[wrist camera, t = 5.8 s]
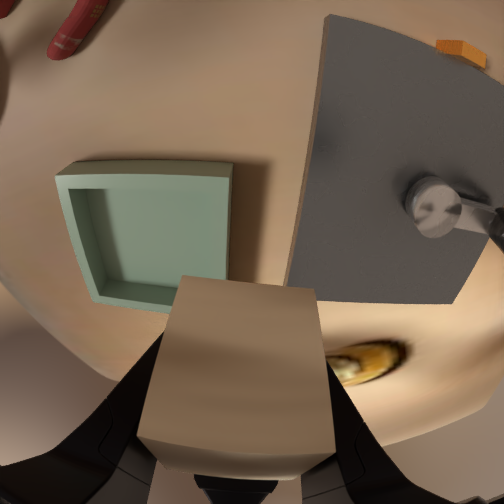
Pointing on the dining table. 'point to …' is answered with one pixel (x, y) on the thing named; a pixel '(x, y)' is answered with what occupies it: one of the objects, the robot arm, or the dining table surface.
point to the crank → (451, 211)
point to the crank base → (393, 165)
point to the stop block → (240, 383)
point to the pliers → (69, 26)
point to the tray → (147, 226)
